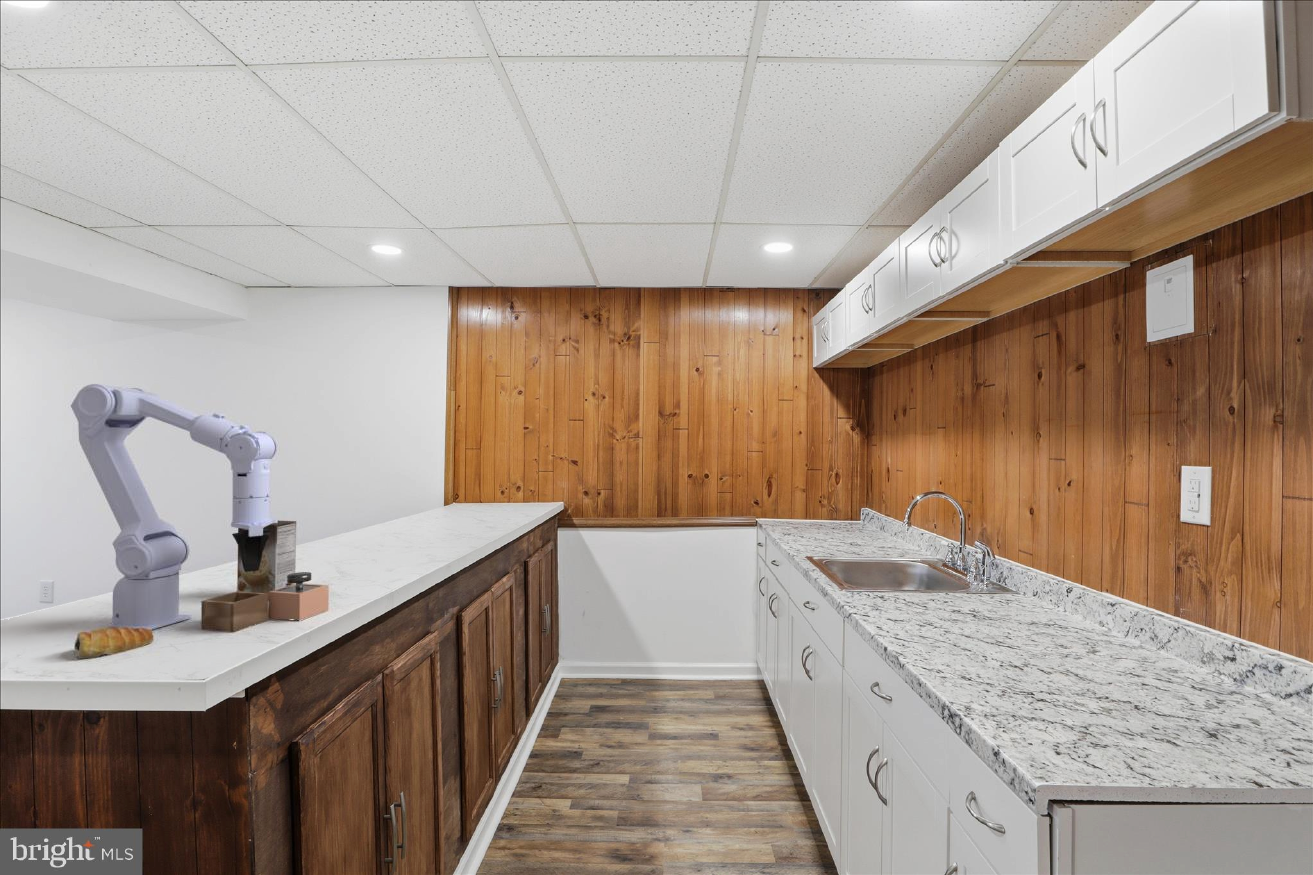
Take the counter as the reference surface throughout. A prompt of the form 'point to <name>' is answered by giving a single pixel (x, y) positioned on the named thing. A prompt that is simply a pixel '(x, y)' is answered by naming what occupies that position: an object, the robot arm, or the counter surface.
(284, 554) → the coffee box
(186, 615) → the robot arm
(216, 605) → the box
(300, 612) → the box
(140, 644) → the pastry
